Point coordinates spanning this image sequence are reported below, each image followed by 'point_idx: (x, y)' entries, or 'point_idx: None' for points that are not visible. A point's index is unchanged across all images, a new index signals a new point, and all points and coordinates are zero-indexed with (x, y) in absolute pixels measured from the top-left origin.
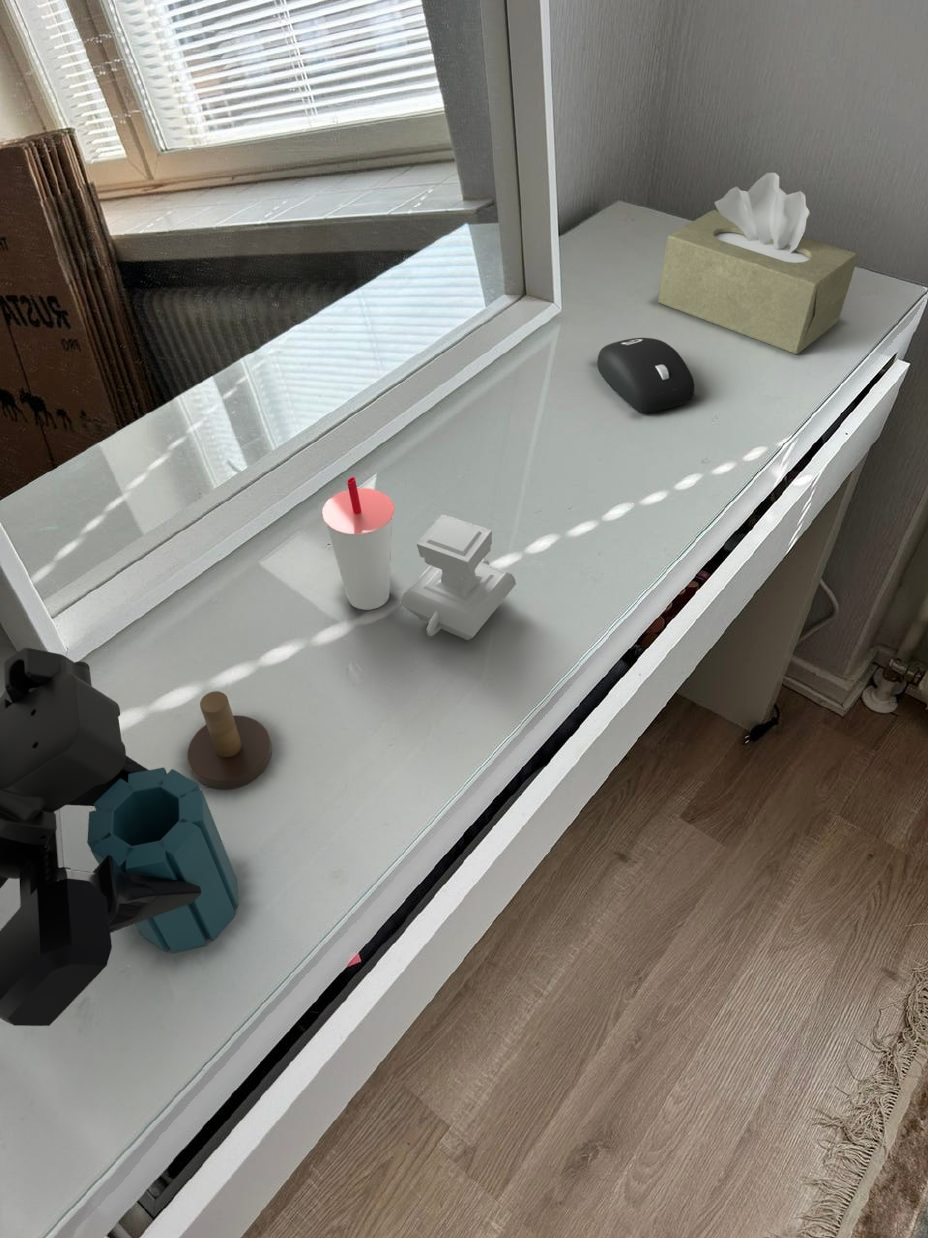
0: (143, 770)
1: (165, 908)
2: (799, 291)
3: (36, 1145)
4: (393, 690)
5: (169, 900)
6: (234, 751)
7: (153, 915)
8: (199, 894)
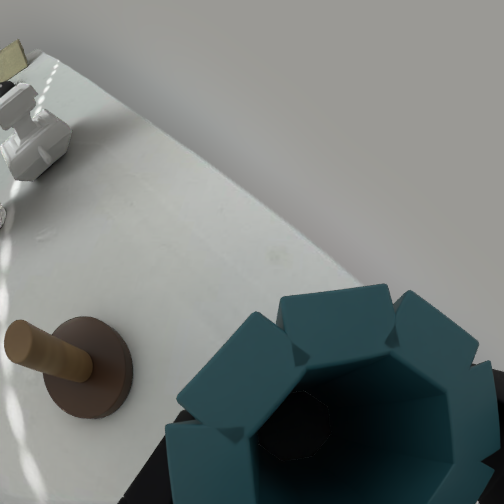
0: (144, 484)
1: None
2: (14, 48)
3: None
4: (77, 202)
5: None
6: (87, 357)
7: None
8: None
